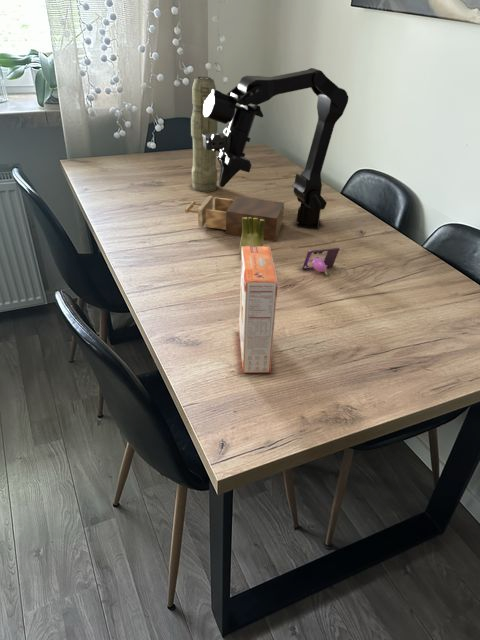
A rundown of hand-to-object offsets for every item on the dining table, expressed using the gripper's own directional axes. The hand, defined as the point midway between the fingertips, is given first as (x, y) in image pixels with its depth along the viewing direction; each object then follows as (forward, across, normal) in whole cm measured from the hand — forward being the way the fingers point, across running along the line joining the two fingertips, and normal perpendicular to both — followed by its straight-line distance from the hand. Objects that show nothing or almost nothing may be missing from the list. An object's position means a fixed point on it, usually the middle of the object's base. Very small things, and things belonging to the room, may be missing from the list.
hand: (220, 186), depth 140 cm
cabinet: (+10, -4, +16) cm, 19 cm away
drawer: (+12, -10, +6) cm, 17 cm away
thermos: (+11, -42, +9) cm, 44 cm away
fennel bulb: (+14, +15, +9) cm, 22 cm away
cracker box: (+19, +55, -2) cm, 59 cm away
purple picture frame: (+9, +25, +25) cm, 37 cm away
